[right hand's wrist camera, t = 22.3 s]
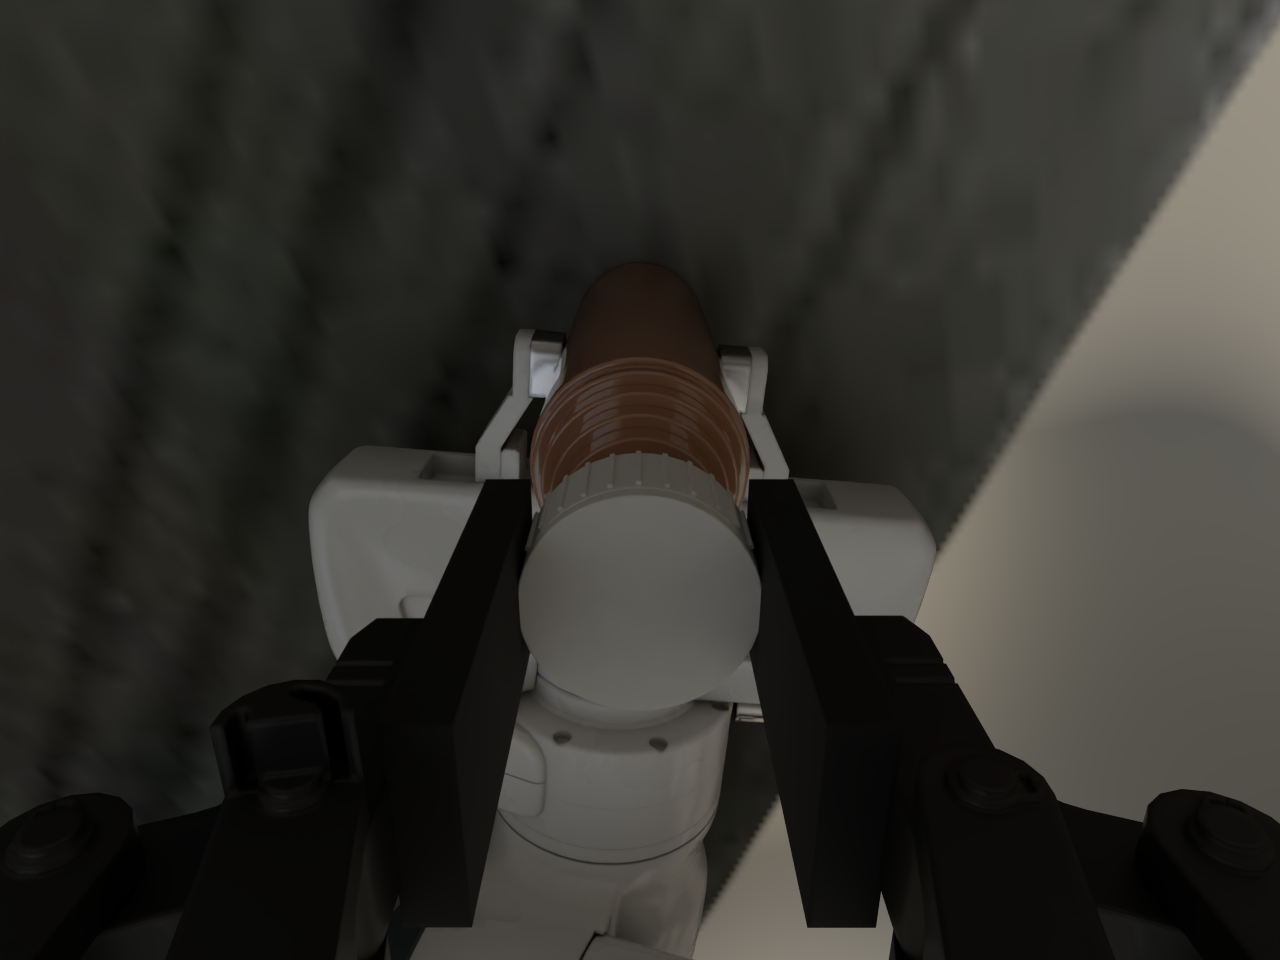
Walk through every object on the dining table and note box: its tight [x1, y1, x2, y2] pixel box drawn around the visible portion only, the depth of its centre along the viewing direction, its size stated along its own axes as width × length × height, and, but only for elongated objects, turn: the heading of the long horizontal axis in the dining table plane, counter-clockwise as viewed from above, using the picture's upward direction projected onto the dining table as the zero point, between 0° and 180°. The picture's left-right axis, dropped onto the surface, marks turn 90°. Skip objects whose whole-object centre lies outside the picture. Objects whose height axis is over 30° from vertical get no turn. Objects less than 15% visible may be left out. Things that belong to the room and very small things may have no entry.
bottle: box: [530, 263, 750, 510], centre depth 23 cm, size 5×5×20 cm
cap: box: [518, 451, 761, 710], centre depth 14 cm, size 4×4×2 cm
